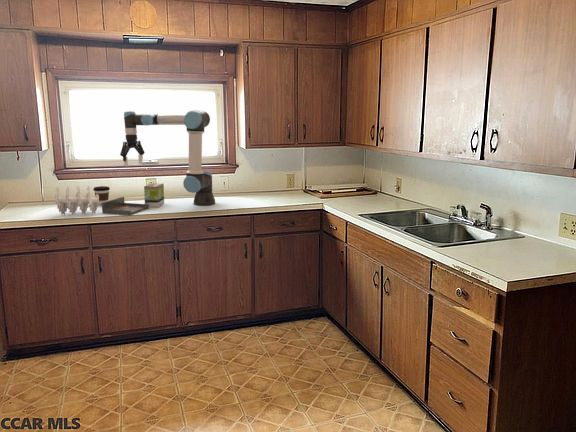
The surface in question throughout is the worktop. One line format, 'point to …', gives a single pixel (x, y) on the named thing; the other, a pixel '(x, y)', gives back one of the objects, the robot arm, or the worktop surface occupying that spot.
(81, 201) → the grey translucent row part
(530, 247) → the worktop surface
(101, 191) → the coffee cup
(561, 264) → the worktop surface
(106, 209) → the tray
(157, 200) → the tea box
